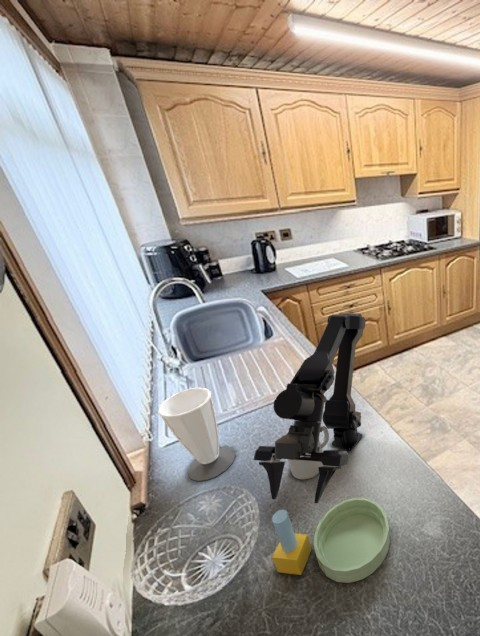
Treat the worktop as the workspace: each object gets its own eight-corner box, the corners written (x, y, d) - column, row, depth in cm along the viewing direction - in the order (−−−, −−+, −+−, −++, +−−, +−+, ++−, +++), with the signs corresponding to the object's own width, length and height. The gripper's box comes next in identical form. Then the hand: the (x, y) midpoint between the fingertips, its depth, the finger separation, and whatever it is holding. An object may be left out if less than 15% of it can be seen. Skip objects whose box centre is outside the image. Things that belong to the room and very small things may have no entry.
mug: (304, 485, 87) (295, 454, 83) (284, 470, 92) (275, 439, 87) (341, 454, 96) (334, 424, 91) (321, 441, 101) (314, 412, 96)
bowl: (346, 501, 83) (343, 488, 81) (402, 525, 77) (401, 512, 75) (302, 564, 71) (297, 551, 69) (365, 598, 65) (362, 585, 63)
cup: (217, 442, 102) (193, 382, 93) (244, 454, 97) (221, 393, 88) (178, 472, 93) (146, 409, 83) (205, 487, 88) (175, 422, 79)
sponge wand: (289, 546, 74) (274, 503, 68) (311, 549, 73) (298, 505, 67) (277, 572, 70) (260, 528, 63) (301, 575, 69) (286, 530, 63)
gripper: (246, 416, 70) (227, 503, 64) (335, 422, 67) (322, 513, 62) (275, 420, 80) (260, 495, 75) (353, 424, 77) (343, 502, 72)
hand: (294, 501), depth 71 cm, fingers open, 9 cm apart
